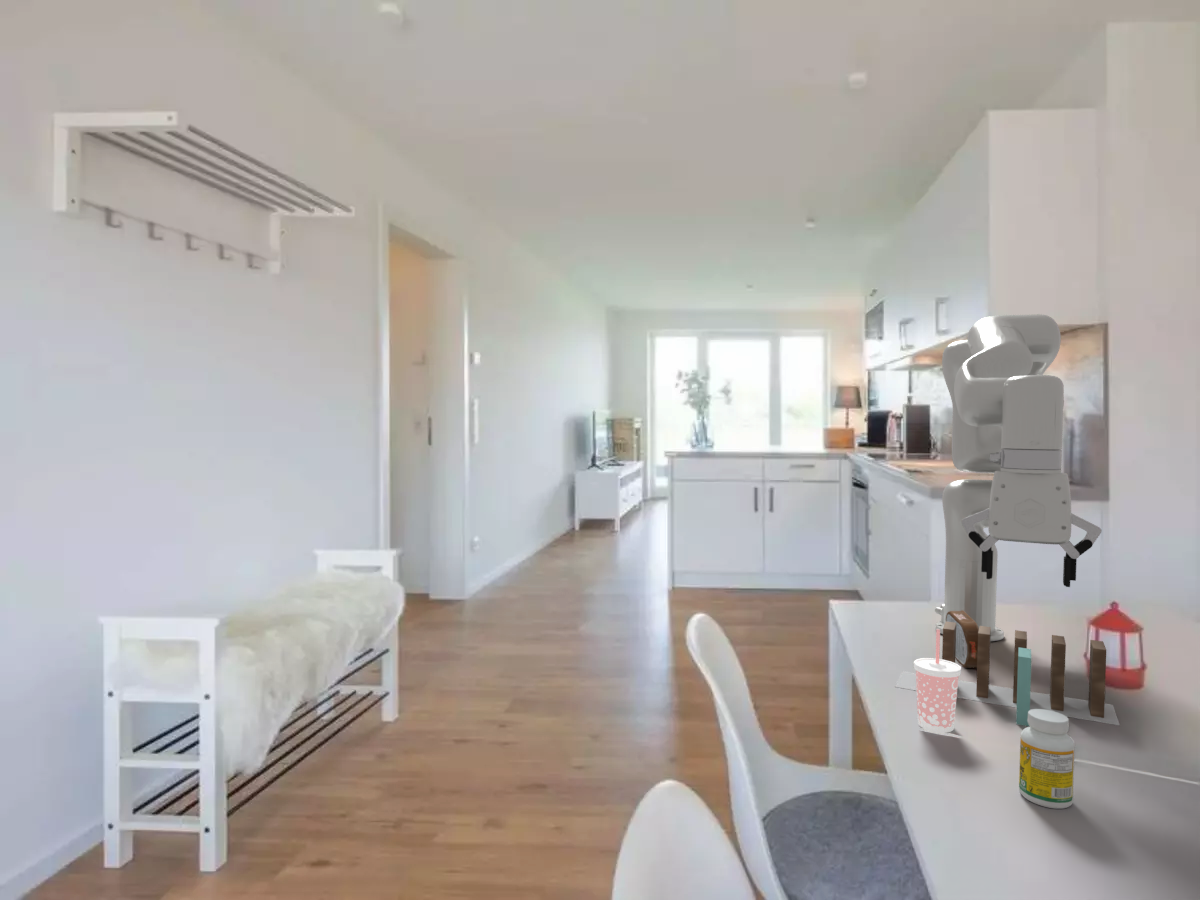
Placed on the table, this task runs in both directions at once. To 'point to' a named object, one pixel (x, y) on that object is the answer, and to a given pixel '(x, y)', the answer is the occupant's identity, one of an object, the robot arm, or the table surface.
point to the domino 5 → (1057, 672)
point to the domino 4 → (1023, 686)
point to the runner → (1005, 698)
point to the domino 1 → (949, 642)
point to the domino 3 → (1022, 643)
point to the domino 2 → (983, 661)
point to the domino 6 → (1097, 678)
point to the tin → (965, 638)
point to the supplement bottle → (1047, 760)
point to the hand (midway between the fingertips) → (1027, 581)
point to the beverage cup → (936, 692)
